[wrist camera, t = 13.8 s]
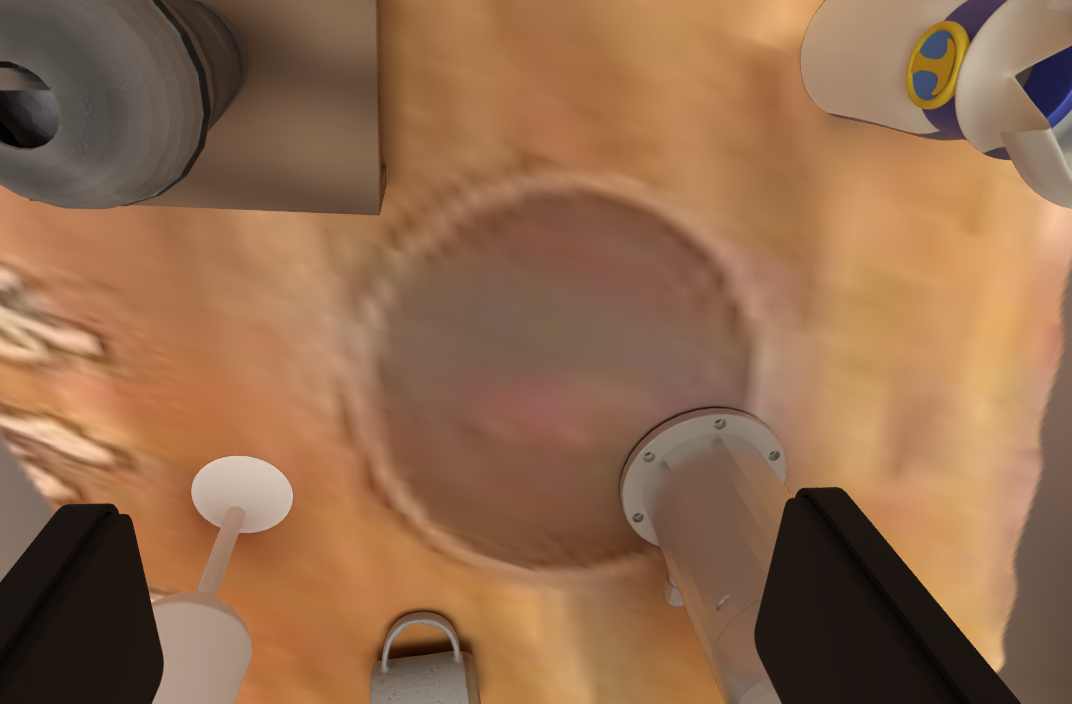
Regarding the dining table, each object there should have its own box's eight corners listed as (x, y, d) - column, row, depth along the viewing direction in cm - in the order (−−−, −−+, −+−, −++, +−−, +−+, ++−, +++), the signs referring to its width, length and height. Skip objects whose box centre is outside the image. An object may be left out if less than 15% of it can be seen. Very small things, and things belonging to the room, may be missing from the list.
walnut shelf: (386, 185, 41) (379, 215, 36) (84, 171, 39) (29, 200, 33) (382, -100, 35) (373, -116, 30) (23, -139, 32) (-58, -163, 27)
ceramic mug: (483, 688, 61) (489, 774, 55) (388, 705, 61) (382, 794, 54) (466, 597, 57) (471, 679, 50) (362, 615, 56) (352, 699, 49)
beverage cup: (108, 124, 32) (-284, 287, 15) (99, -58, 29) (-409, -129, 12) (276, 153, 34) (105, 333, 16) (285, -16, 31) (86, -23, 13)
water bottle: (778, 127, 42) (1153, 279, 20) (811, -36, 39) (1316, -66, 17) (905, 132, 44) (1390, 279, 22) (949, -26, 40) (1593, -43, 18)
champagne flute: (260, 441, 48) (123, 805, 26) (311, 512, 51) (225, 888, 29) (170, 477, 48) (-37, 866, 27) (226, 546, 51) (80, 942, 30)
